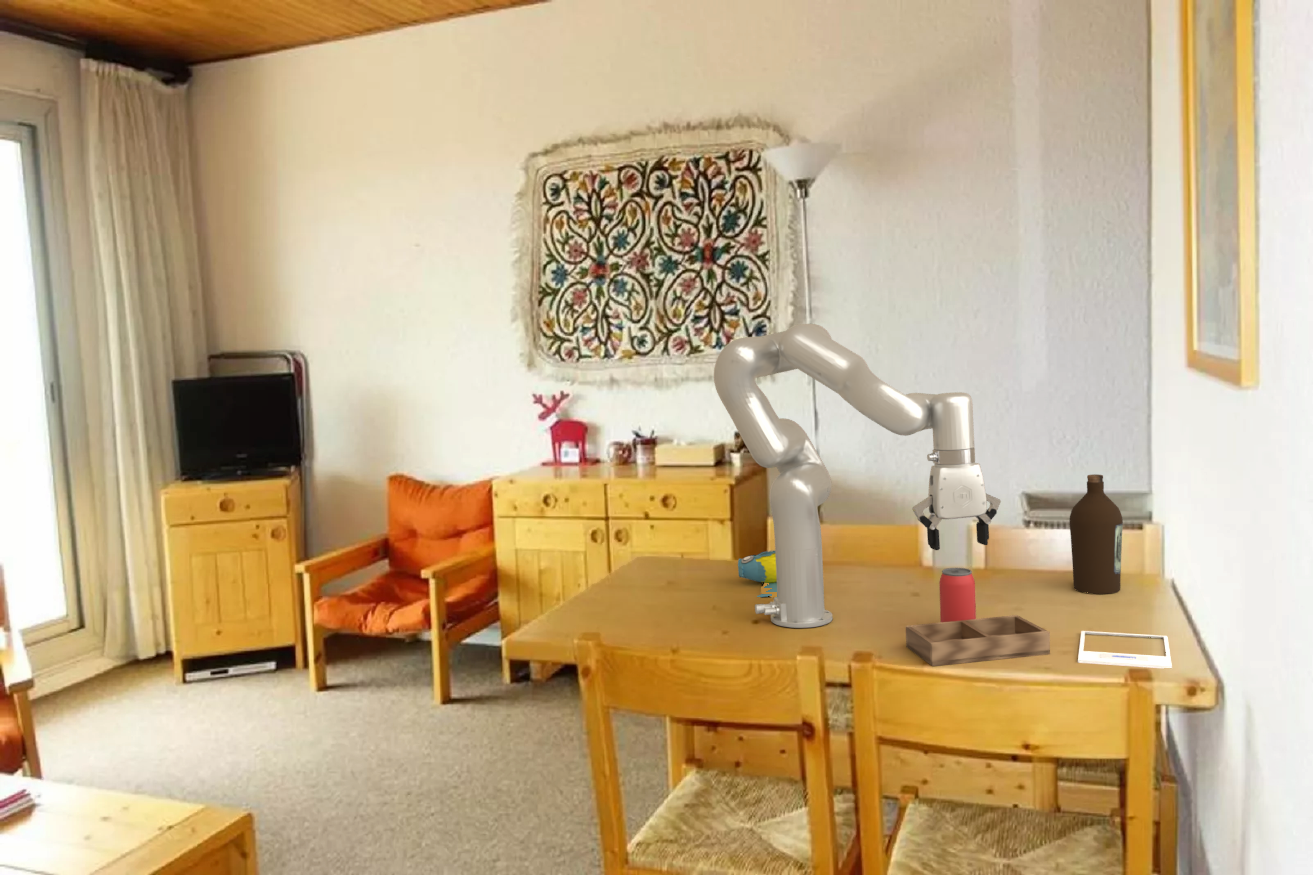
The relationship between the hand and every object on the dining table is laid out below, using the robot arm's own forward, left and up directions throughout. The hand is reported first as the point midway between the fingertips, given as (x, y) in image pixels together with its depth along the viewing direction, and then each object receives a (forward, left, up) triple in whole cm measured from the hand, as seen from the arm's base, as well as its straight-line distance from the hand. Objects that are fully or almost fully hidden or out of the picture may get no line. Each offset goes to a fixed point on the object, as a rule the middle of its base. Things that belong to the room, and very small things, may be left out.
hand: (958, 546), depth 204 cm
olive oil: (+41, +20, -17) cm, 48 cm away
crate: (-2, -12, -17) cm, 21 cm away
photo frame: (+22, -20, -17) cm, 34 cm away
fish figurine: (-24, +52, -18) cm, 60 cm away
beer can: (0, 0, -17) cm, 17 cm away
